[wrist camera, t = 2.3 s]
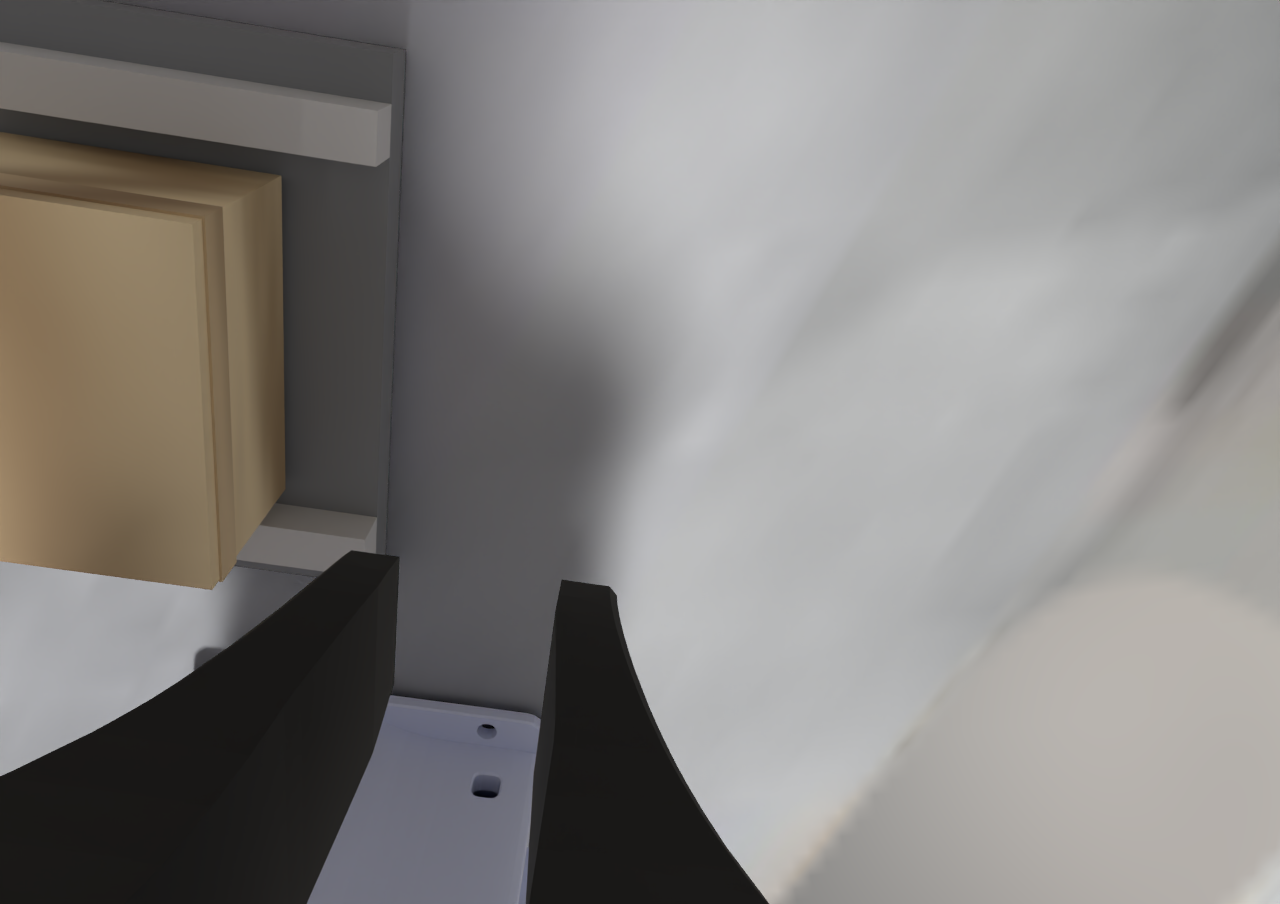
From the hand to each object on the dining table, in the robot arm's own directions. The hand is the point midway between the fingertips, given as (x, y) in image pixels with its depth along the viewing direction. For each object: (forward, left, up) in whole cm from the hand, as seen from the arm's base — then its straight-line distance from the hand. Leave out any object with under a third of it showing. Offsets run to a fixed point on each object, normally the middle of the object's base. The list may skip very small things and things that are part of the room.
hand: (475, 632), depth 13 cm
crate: (+9, 0, -9) cm, 13 cm away
